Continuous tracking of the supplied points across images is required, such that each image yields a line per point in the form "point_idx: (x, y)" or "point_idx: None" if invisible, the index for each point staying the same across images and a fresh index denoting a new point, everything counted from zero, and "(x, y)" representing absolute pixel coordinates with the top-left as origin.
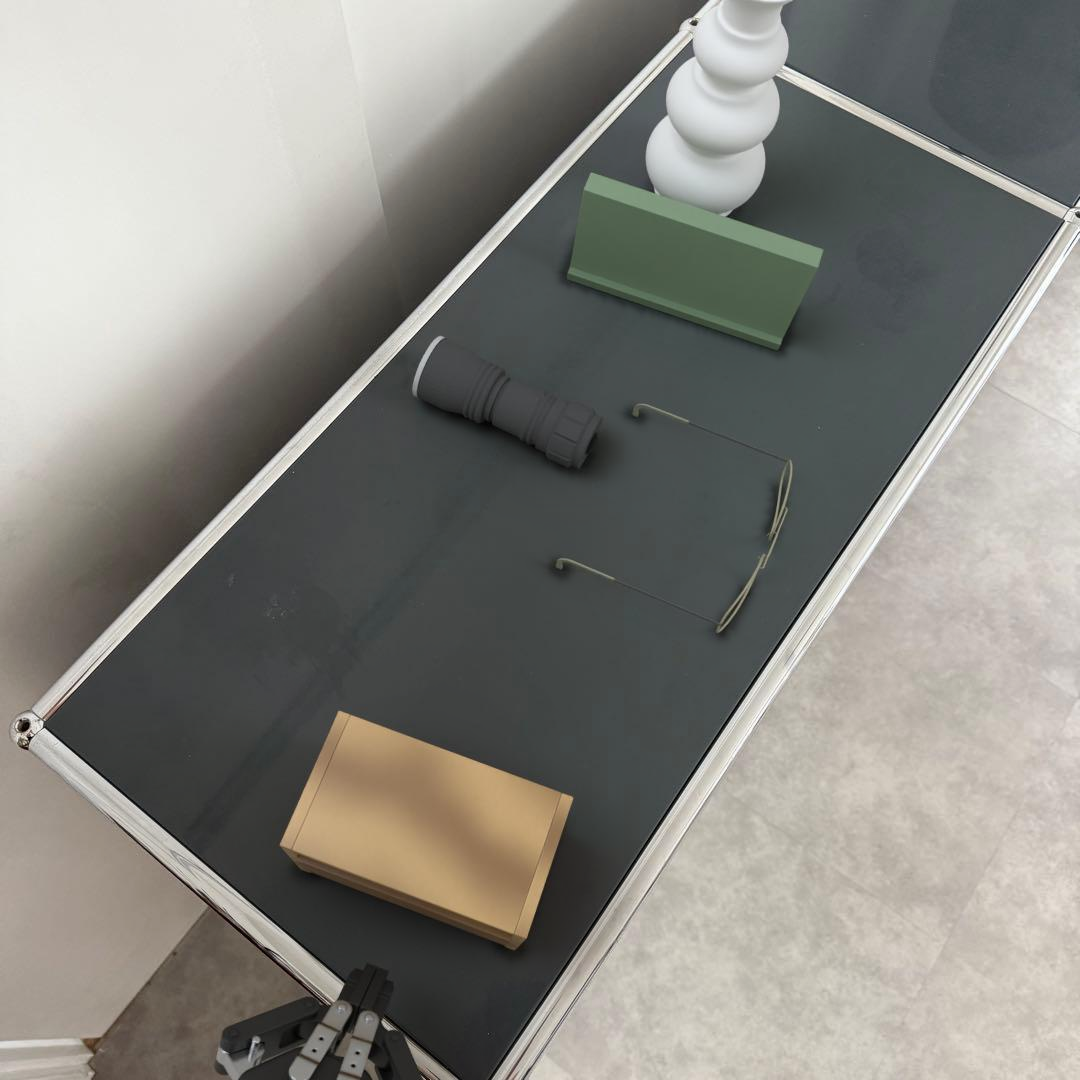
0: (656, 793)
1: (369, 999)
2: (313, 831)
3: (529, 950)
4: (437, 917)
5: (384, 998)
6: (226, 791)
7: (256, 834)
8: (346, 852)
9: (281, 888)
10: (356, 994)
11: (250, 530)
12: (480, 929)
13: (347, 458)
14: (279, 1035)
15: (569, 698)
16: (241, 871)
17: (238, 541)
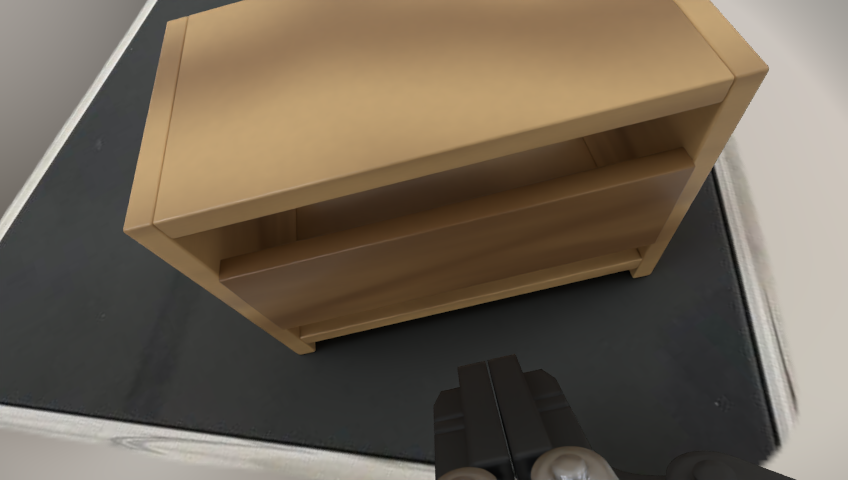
0: None
1: (523, 426)
2: (187, 172)
3: (668, 263)
4: (527, 247)
5: (554, 406)
6: (163, 325)
7: (222, 350)
8: (272, 162)
9: (286, 394)
10: (480, 434)
11: (105, 102)
12: (627, 180)
13: (176, 17)
14: None
15: None
16: (220, 407)
17: (96, 115)
